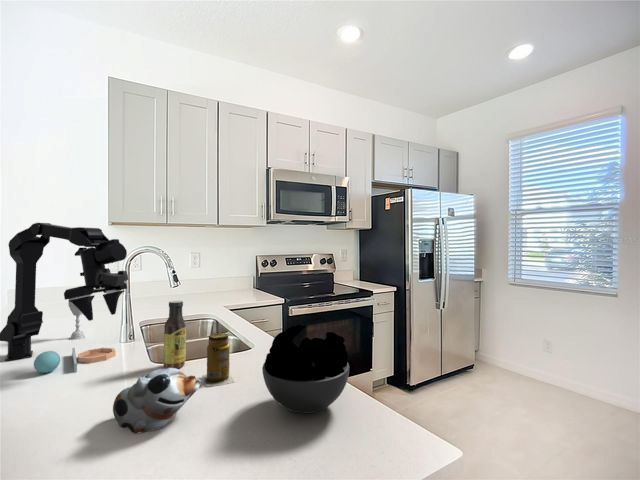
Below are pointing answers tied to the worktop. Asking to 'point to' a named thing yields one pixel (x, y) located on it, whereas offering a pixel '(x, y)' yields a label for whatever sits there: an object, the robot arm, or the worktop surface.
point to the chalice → (77, 313)
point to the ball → (47, 361)
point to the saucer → (96, 355)
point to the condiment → (218, 361)
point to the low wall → (74, 359)
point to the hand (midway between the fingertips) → (102, 317)
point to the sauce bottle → (174, 337)
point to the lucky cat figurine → (153, 399)
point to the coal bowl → (306, 370)
